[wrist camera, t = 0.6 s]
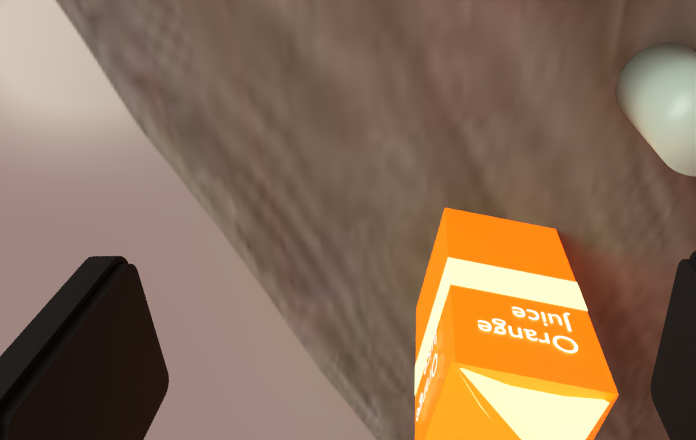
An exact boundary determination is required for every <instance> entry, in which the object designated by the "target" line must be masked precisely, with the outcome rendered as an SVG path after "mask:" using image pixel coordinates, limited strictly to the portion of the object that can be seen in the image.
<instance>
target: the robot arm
mask: <svg viewBox="0 0 696 440" xmlns="http://www.w3.org/2000/svg"><path fill="white" fill-rule="evenodd" d="M168 382H169V376H168V371H167V368H166V365H165V361H164V358H163V355H162V351H161V348H160V344H159V341H158V338H157V334H156V331H155V328H154V324H153V321H152V318H151V314H150V311H149V308H148V304H147V301H146V297H145V294H144V291H143V287H142V284H141V281H140V277H139V274H138V271H137V268H136V267H135V266H134V265H133V264H128V261H127V260H126V259H125V258H124V257H122V256H93V257H89V258H88V259H87V260H85V261H84V263H83V264H82V265H81V266H80V267H79V268H78V270H77V271H76V272H75V273H74V274H73V275H72V276H71V277H70V279H69V280H68V281H67V282H66V283H65V284H64V285H63V286H62V287H61V289H60V290H59V291H58V292H57V293H56V294H55V295H54V297H53V298H52V299H51V300H50V301H49V302H48V303H47V304H46V305H45V307H44V308H43V309H42V310H41V311H40V312H39V313H38V315H37V316H36V317H35V318H34V319H33V320H32V321H31V322H30V324H29V325H28V326H27V327H26V328H25V329H24V330H23V332H22V333H21V334H20V335H19V336H18V337H17V338H16V339H15V340H14V342H13V343H12V344H11V345H10V346H9V347H8V348H7V349H6V351H5V352H4V353H3V354H2V355H1V356H0V440H143V439H144V437H145V435H146V433H147V431H148V429H149V427H150V425H151V423H152V421H153V419H154V417H155V415H156V413H157V411H158V409H159V407H160V405H161V403H162V401H163V399H164V397H165V395H166V392H167V389H168ZM651 394H652V399H653V402H654V405H655V407H656V409H657V412H658V414H659V416H660V418H661V420H662V423H663V425H664V427H665V429H666V431H667V433H668V436H669V438H670V440H696V251H695V252H693V253H692V255H691V256H690V258H689V259H683V260H681V261H680V263H679V265H678V268H677V272H676V276H675V281H674V285H673V289H672V294H671V298H670V302H669V307H668V311H667V315H666V320H665V324H664V328H663V333H662V337H661V341H660V346H659V350H658V354H657V359H656V363H655V367H654V372H653V376H652V380H651Z"/></svg>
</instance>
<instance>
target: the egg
mask: <svg viewBox="0 0 696 440" xmlns="http://www.w3.org/2000/svg"><path fill="white" fill-rule="evenodd" d="M616 100H617V103H618V106H619V108H620V109H621V111H622V112H623V113H624V115H625V116H626V117H627V118H628V119H629V121H630V122H631V123H632V124H633V125H634V127H635V128H636V129H637V130H638V131H639V132H640V134H641V135H642V136H643V137H644V138H645V140H646V141H647V142H648V143H649V144H650V145H651V147H652V148H653V149H654V150H655V151H656V153H657V154H658V155H659V156H660V157H661V158H662V160H663V161H664V162H665V163H666V164H667V165H668V166H669V167H670V168H672V169H673V170H675V171H677V172H679V173H682V174H684V175H689V176H696V51H695V50H694V49H692V48H690V47H688V46H686V45H684V44H680V43H671V42H670V43H661V44H657V45H653V46H651V47H648V48H646V49H644V50H643V51H641V52H639V53H638V54H637V55H635V56H634V57H633V58H632V59H631V60H630V61H629V62H628V63H627V64H626V66H625V67H624V68H623V70H622V72H621V74H620V76H619V78H618V81H617V85H616Z"/></svg>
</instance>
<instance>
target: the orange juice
mask: <svg viewBox="0 0 696 440" xmlns="http://www.w3.org/2000/svg"><path fill="white" fill-rule="evenodd" d="M587 311H588V310H587V307H586V304H585V302H584V299H583V297H582V294H581V291H580V289H579V286H578V283H577V282H576V281H575V278H574V276H573V273H572V270H571V268H570V265H569V263H568V260H567V257H566V255H565V252H564V249H563V247H562V244H561V241H560V239H559V236H558V234H557V231H556V229H552V228H547V227H542V226H537V225H532V224H527V223H521V222H516V221H511V220H506V219H501V218H496V217H491V216H485V215H480V214H475V213H470V212H465V211H460V210H454V209H449V208H445V209H444V213H443V216H442V220H441V223H440V227H439V230H438V234H437V237H436V241H435V244H434V248H433V251H432V255H431V258H430V262H429V265H428V269H427V272H426V276H425V279H424V283H423V286H422V290H421V294H420V297H419V301H418V304H417V308H416V365H415V440H593V439H594V437H595V436H596V434H597V432H598V430H599V429H600V427H601V425H602V423H603V422H604V420H605V418H606V416H607V414H608V413H609V411H610V409H611V407H612V406H613V404H614V402H615V400H616V399H617V397H618V395H619V394H618V392H617V389H616V386H615V384H614V381H613V378H612V376H611V373H610V371H609V368H608V365H607V363H606V360H605V357H604V355H603V352H602V349H601V347H600V344H599V342H598V339H597V336H596V334H595V331H594V328H593V326H592V323H591V320H590V318H589V315H588V313H587Z"/></svg>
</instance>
